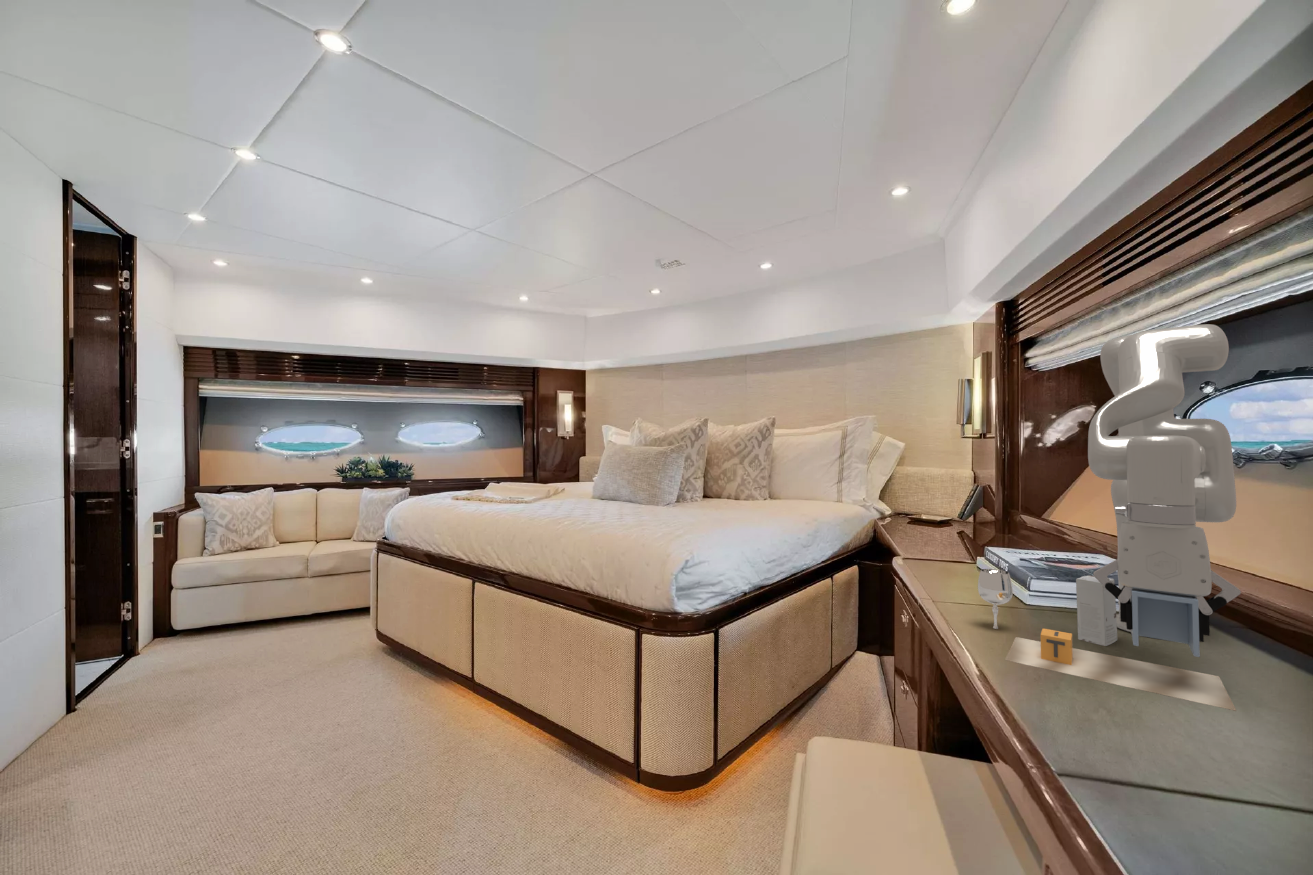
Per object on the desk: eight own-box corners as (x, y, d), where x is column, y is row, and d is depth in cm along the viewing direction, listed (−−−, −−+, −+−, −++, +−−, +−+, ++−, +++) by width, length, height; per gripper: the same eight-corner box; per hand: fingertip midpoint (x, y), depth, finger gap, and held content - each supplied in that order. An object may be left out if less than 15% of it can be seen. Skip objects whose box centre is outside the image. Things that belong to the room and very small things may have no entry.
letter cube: (1043, 651, 90) (1042, 628, 91) (1072, 657, 88) (1072, 633, 88) (1040, 658, 87) (1040, 634, 87) (1071, 665, 85) (1071, 640, 85)
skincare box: (1106, 652, 93) (1105, 583, 93) (1076, 644, 97) (1074, 578, 97) (1118, 645, 96) (1117, 578, 97) (1088, 637, 100) (1087, 574, 100)
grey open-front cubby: (1131, 633, 84) (1130, 583, 85) (1193, 643, 80) (1191, 591, 80) (1133, 645, 79) (1132, 591, 79) (1199, 657, 74) (1198, 600, 75)
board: (1005, 666, 87) (1005, 659, 87) (1015, 642, 97) (1015, 637, 98) (1236, 718, 70) (1236, 710, 70) (1219, 682, 81) (1218, 676, 81)
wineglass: (971, 630, 104) (970, 569, 104) (990, 626, 106) (990, 567, 107) (1000, 639, 99) (999, 576, 99) (1020, 635, 101) (1019, 573, 101)
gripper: (1086, 513, 83) (1088, 626, 82) (1250, 523, 72) (1254, 655, 71) (1087, 509, 89) (1089, 615, 88) (1239, 518, 77) (1243, 640, 77)
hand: (1163, 632), depth 79 cm, fingers closed on grey open-front cubby, 7 cm apart
